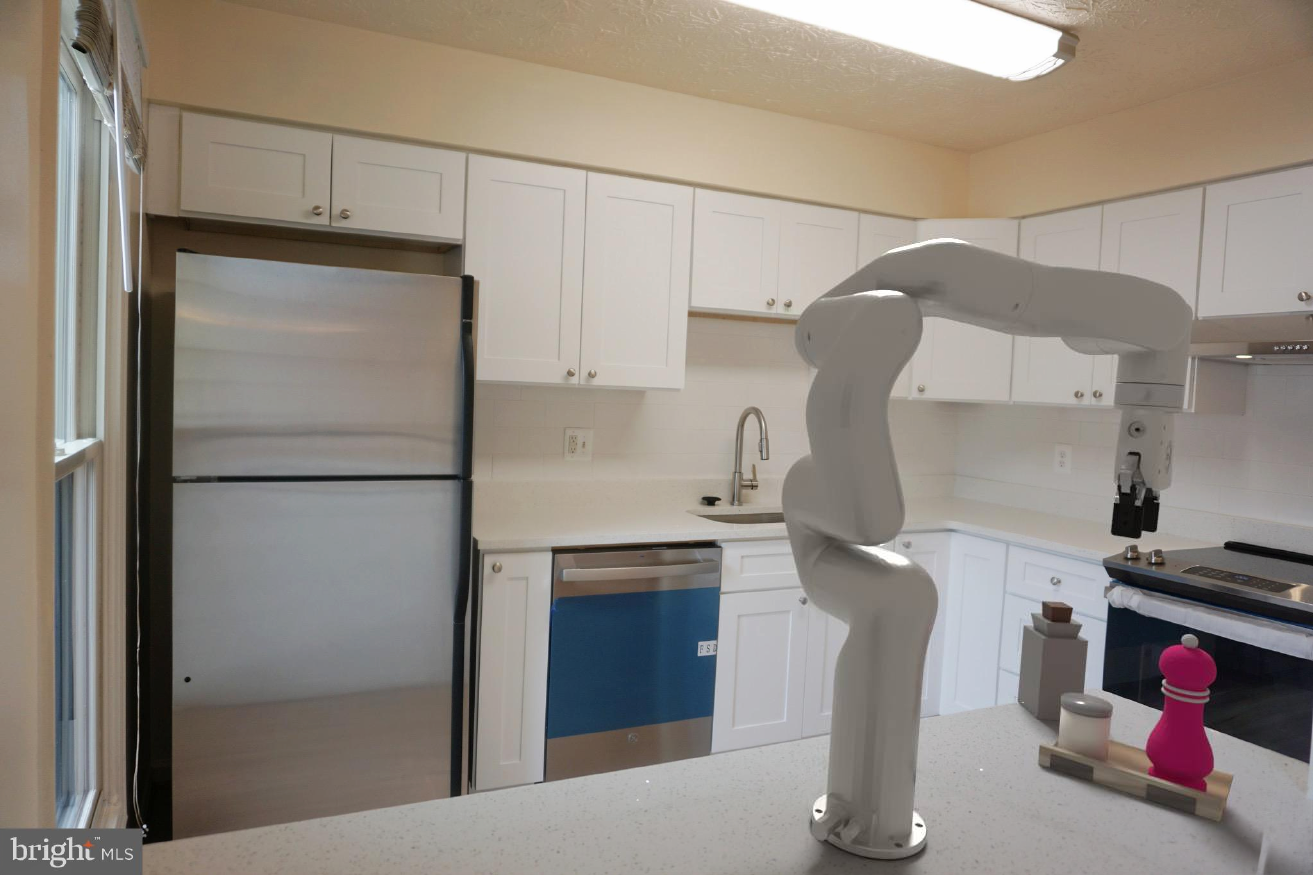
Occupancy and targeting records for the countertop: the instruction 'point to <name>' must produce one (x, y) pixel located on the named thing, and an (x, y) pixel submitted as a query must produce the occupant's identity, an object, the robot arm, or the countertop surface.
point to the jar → (1085, 725)
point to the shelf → (1140, 778)
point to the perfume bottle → (1051, 660)
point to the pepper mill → (1183, 717)
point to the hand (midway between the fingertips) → (1134, 533)
